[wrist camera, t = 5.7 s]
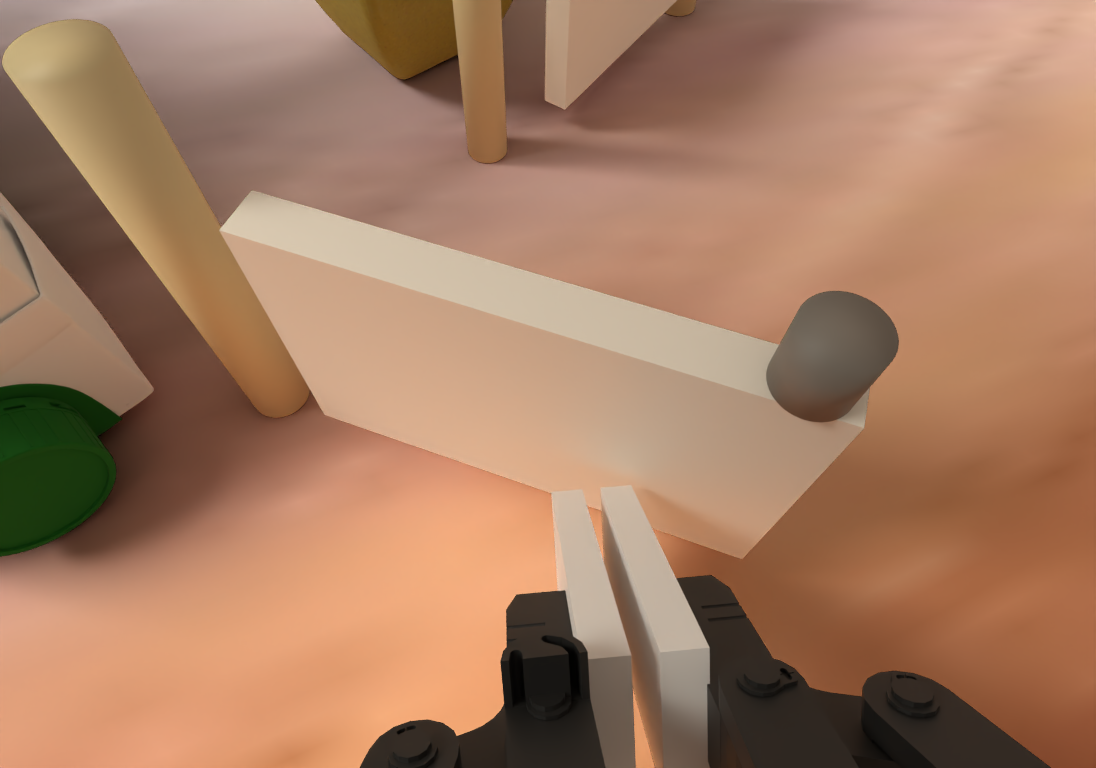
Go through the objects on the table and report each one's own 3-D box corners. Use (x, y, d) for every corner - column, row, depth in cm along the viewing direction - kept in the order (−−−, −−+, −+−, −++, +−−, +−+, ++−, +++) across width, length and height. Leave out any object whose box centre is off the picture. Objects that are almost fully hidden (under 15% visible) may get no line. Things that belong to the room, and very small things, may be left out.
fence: (281, 427, 22) (46, 98, 11) (212, 379, 22) (-65, 31, 12) (701, 2, 34) (776, -347, 23) (646, -19, 34) (695, -364, 24)
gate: (321, 420, 21) (177, 175, 12) (346, 377, 21) (227, 119, 13) (740, 566, 19) (906, 391, 10) (752, 513, 19) (916, 310, 11)
